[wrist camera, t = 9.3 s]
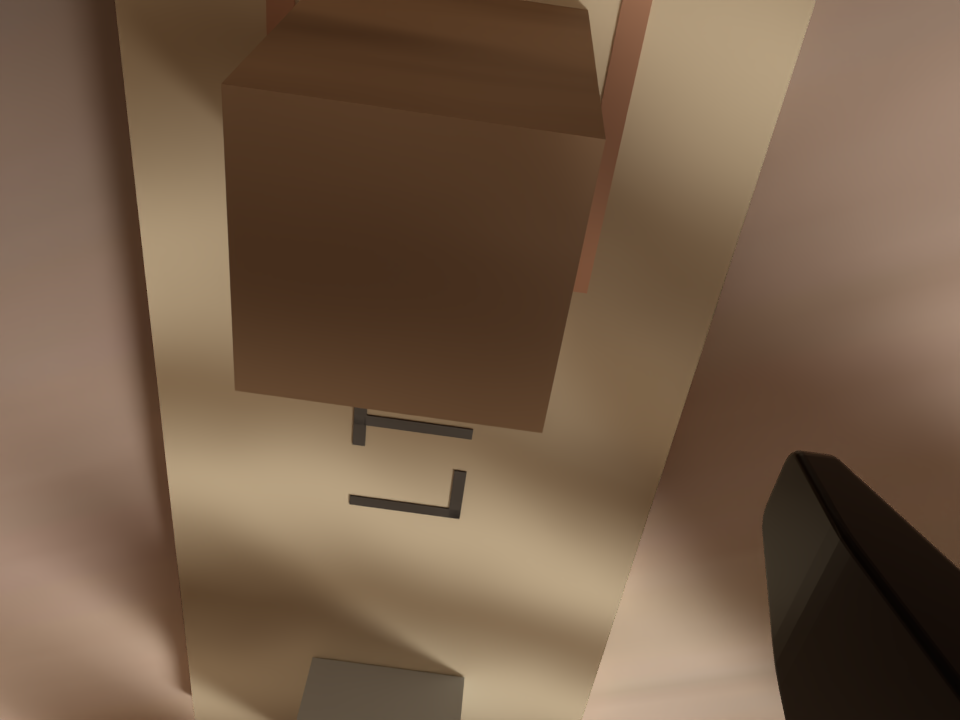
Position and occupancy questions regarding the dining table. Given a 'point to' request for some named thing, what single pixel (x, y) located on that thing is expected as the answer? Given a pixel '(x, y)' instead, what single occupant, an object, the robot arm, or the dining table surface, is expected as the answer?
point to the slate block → (378, 693)
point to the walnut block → (411, 204)
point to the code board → (429, 441)
